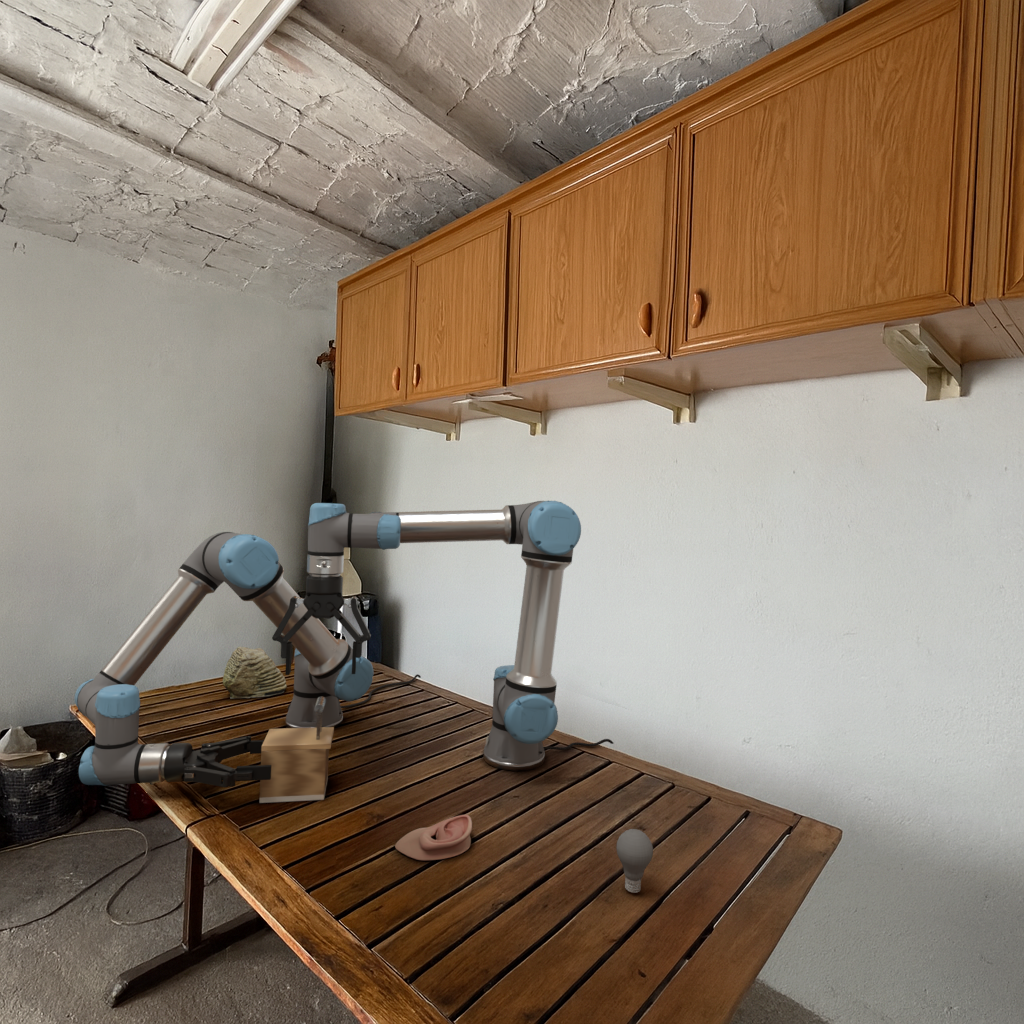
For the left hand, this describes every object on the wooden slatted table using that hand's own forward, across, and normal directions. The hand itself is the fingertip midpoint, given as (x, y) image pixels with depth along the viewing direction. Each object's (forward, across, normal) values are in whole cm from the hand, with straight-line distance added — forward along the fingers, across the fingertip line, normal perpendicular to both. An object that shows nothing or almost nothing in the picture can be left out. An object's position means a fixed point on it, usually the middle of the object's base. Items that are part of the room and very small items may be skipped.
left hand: (276, 758), depth 135 cm
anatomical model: (+32, +25, -7) cm, 41 cm away
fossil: (-17, -68, -7) cm, 70 cm away
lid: (+4, 0, +4) cm, 6 cm away
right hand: (+8, 0, +18) cm, 20 cm away
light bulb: (+63, +43, -7) cm, 77 cm away
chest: (+4, 0, -7) cm, 8 cm away
